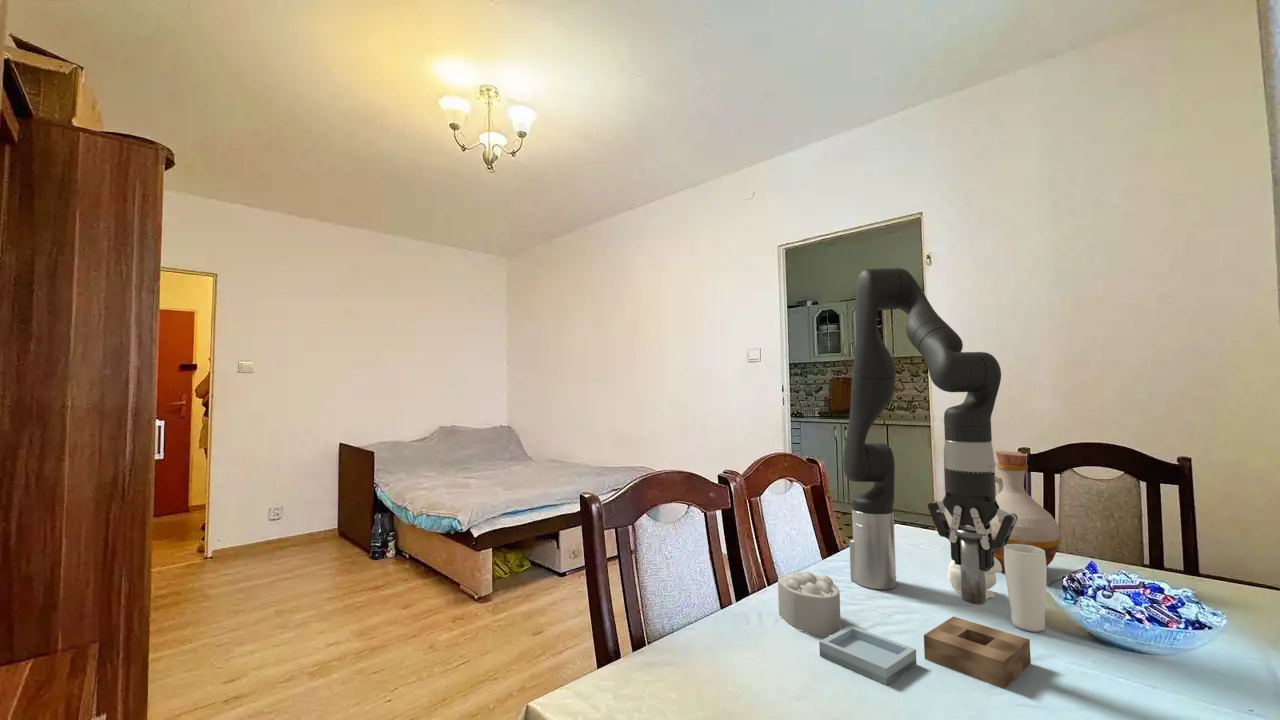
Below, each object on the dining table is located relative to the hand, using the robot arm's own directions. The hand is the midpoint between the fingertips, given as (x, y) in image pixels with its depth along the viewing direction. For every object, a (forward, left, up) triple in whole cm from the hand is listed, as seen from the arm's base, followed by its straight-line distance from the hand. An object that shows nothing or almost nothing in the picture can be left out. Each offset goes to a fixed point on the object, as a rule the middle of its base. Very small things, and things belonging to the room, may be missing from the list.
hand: (972, 566), depth 93 cm
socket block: (0, 0, -16) cm, 16 cm away
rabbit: (-12, +32, -16) cm, 38 cm away
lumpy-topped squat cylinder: (-27, -8, -16) cm, 32 cm away
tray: (-12, -14, -16) cm, 24 cm away
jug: (-12, +56, -16) cm, 59 cm away
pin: (0, 0, -6) cm, 6 cm away
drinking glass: (+1, +22, -16) cm, 27 cm away
